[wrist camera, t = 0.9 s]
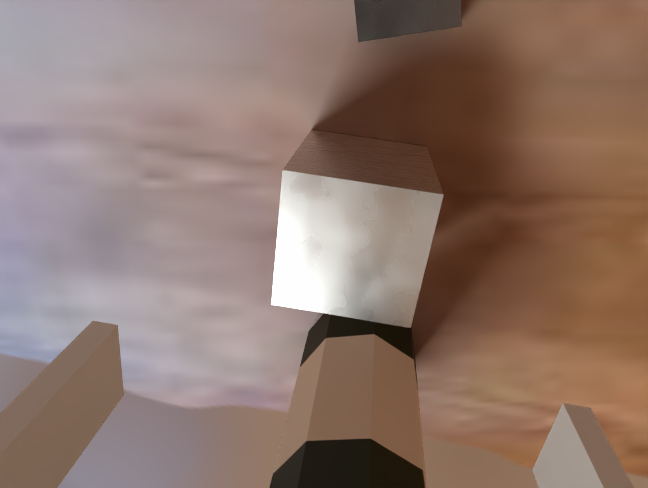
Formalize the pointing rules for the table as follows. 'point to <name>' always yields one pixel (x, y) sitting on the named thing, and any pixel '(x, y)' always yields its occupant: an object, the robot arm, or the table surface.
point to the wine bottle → (353, 410)
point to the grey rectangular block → (355, 227)
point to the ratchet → (404, 17)
